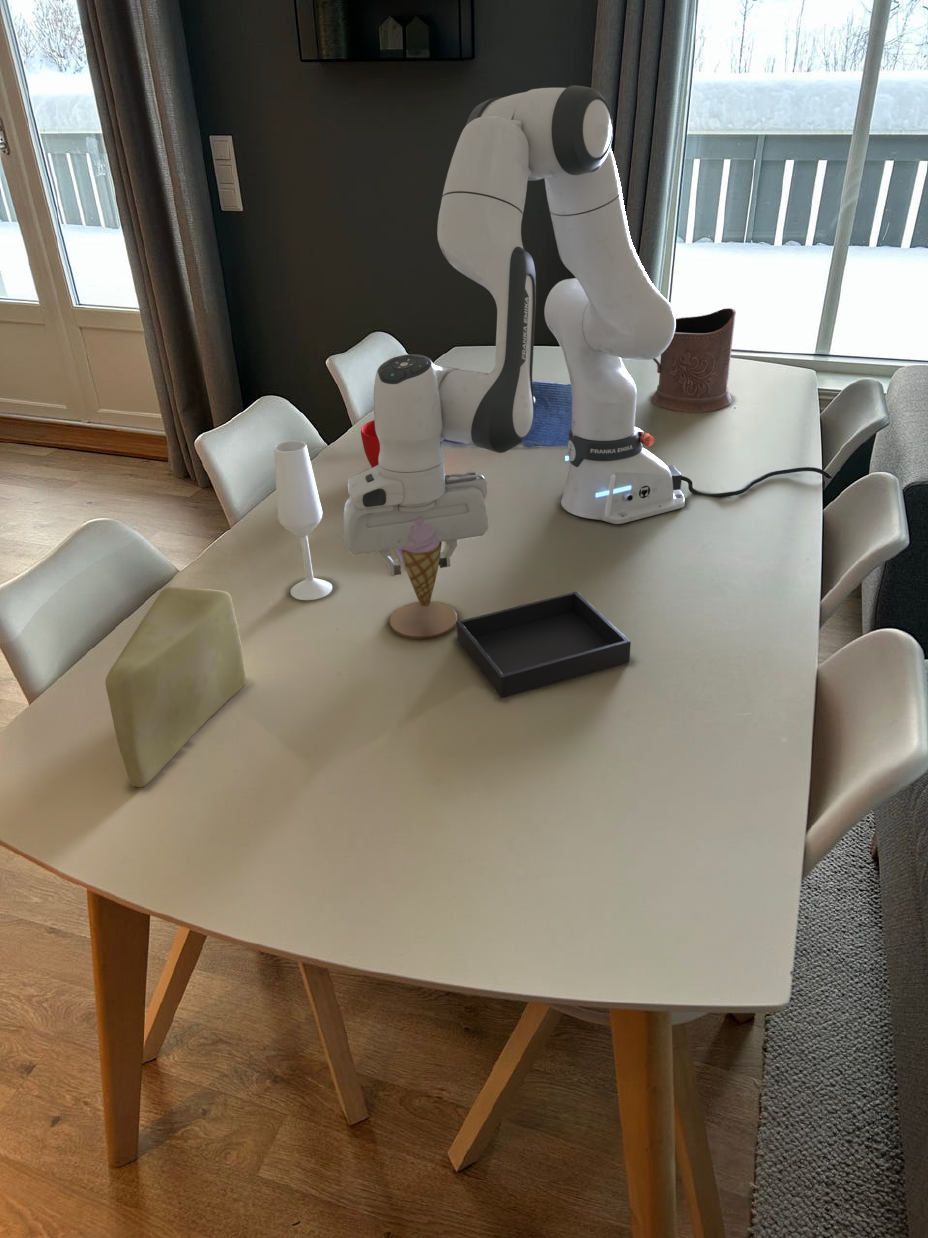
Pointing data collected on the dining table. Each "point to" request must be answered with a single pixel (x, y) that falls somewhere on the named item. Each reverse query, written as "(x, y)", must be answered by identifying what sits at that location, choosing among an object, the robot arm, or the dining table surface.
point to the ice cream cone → (421, 559)
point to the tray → (541, 643)
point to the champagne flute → (299, 509)
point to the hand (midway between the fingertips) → (419, 569)
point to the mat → (548, 416)
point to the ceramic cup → (370, 443)
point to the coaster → (423, 620)
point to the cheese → (173, 676)
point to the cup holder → (697, 363)
